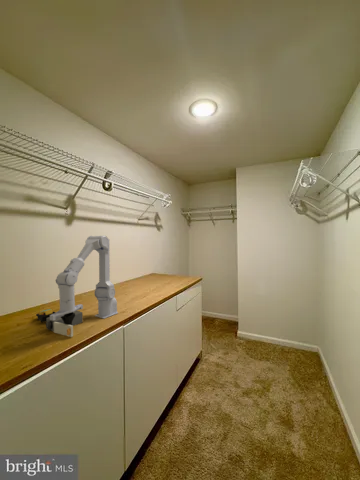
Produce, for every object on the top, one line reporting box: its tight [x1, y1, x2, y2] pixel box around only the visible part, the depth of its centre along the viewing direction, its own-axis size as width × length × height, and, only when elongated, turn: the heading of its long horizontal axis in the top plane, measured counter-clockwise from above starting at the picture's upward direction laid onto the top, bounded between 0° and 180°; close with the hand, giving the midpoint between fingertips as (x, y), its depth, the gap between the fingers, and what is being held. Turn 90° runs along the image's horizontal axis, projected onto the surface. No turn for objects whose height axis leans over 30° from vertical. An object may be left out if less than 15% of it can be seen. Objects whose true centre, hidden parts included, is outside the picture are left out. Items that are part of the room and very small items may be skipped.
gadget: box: [36, 308, 57, 323], centre depth 105 cm, size 6×13×6 cm, turn 49°
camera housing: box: [45, 310, 84, 333], centre depth 97 cm, size 14×8×6 cm, turn 147°
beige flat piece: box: [53, 322, 74, 338], centre depth 87 cm, size 12×2×4 cm, turn 66°
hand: (68, 330), depth 87 cm, fingers closed, pressing on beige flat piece
